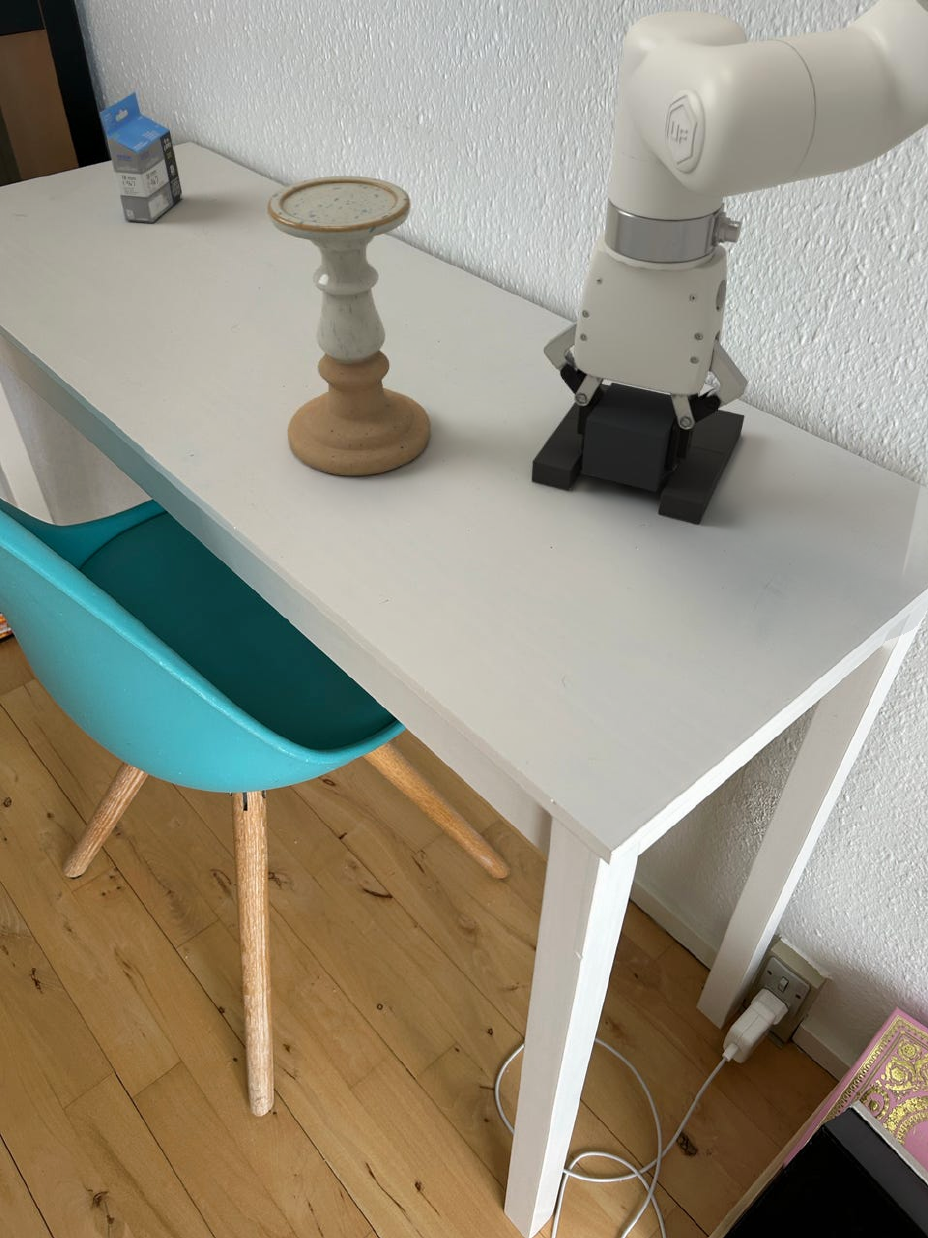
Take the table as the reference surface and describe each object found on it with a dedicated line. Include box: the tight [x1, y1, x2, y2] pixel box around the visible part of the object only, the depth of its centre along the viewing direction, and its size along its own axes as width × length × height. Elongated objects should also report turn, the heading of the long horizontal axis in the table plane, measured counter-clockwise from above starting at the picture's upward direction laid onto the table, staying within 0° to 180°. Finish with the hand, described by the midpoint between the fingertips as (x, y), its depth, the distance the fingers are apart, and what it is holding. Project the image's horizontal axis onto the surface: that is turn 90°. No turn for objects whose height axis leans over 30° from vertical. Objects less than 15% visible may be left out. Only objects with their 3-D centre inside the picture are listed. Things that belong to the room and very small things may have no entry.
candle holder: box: [267, 175, 431, 476], centre depth 78 cm, size 12×12×20 cm
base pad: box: [531, 383, 745, 525], centre depth 82 cm, size 14×14×2 cm
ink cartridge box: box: [99, 91, 184, 224], centre depth 119 cm, size 9×4×12 cm, turn 167°
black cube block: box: [581, 381, 676, 492], centre depth 77 cm, size 6×6×5 cm
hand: (631, 450), depth 78 cm, fingers closed on black cube block, 6 cm apart
